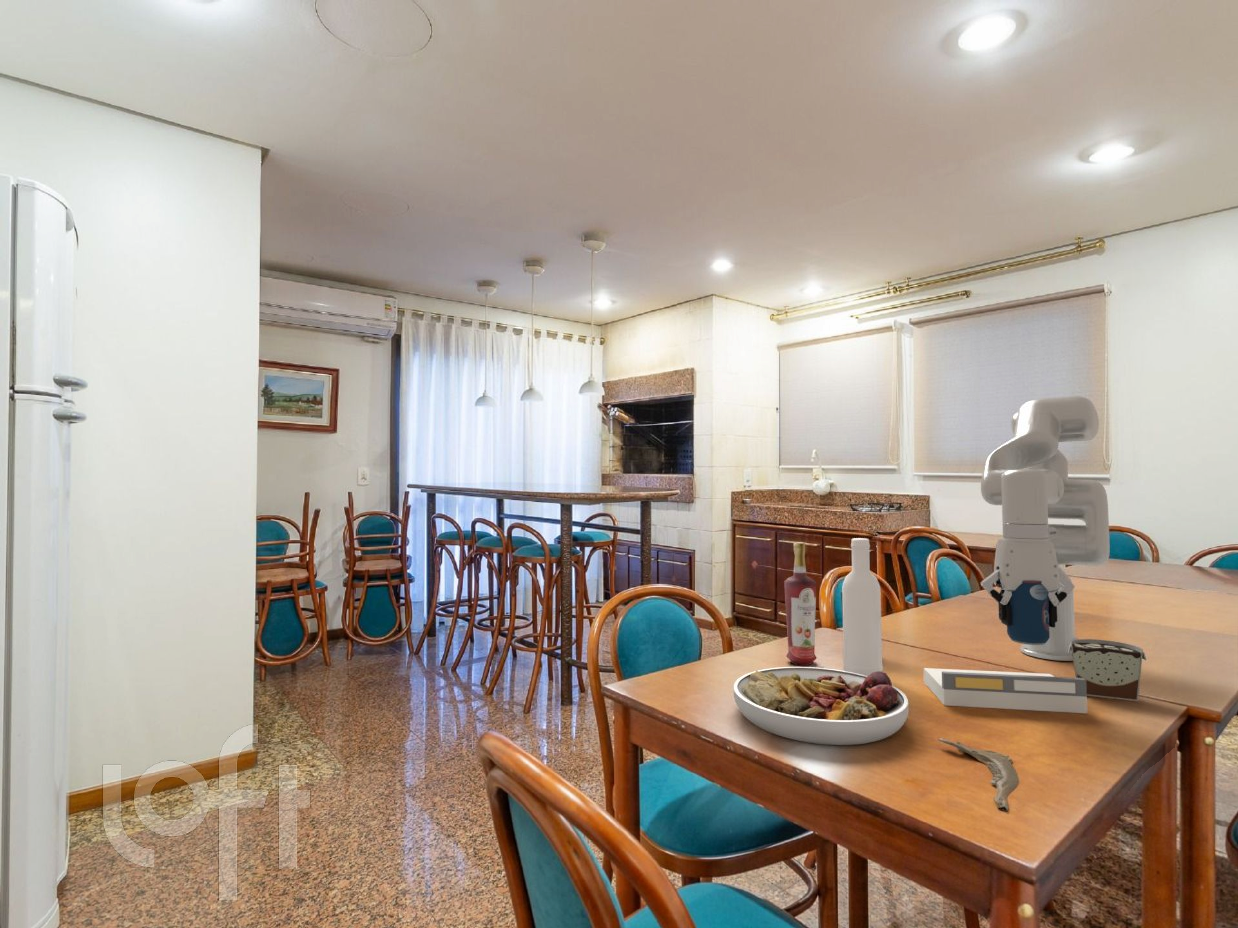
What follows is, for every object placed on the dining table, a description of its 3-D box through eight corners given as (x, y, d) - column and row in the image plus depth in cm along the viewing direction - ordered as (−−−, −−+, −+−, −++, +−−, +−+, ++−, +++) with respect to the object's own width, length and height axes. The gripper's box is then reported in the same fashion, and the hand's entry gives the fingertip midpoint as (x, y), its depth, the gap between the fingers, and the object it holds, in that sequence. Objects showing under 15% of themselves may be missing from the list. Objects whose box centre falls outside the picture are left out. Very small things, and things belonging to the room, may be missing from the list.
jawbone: (995, 754, 100) (996, 741, 100) (1075, 826, 80) (1076, 809, 80) (936, 747, 101) (937, 735, 101) (1000, 816, 81) (1001, 800, 81)
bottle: (853, 670, 142) (851, 536, 143) (888, 677, 136) (886, 538, 137) (836, 678, 136) (834, 538, 137) (872, 686, 131) (870, 541, 132)
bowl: (772, 760, 97) (771, 708, 97) (713, 695, 127) (712, 656, 127) (948, 746, 102) (947, 696, 102) (851, 687, 131) (851, 649, 132)
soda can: (1056, 646, 118) (1054, 582, 118) (1015, 644, 119) (1013, 581, 120) (1040, 638, 125) (1039, 577, 125) (1001, 636, 126) (1000, 576, 127)
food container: (1137, 692, 126) (1135, 641, 126) (1147, 702, 120) (1146, 649, 120) (1062, 684, 131) (1061, 636, 131) (1069, 693, 125) (1068, 642, 126)
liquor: (795, 667, 144) (793, 545, 145) (779, 659, 151) (777, 542, 152) (823, 665, 146) (821, 544, 147) (807, 657, 153) (805, 541, 154)
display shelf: (1050, 688, 128) (1049, 658, 128) (1088, 714, 114) (1087, 680, 114) (923, 682, 133) (923, 653, 133) (945, 706, 119) (944, 673, 119)
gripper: (1065, 531, 125) (1068, 622, 124) (969, 531, 128) (972, 619, 128) (1085, 534, 117) (1088, 631, 117) (983, 533, 121) (985, 627, 120)
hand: (1027, 624), depth 122 cm, fingers closed on soda can, 6 cm apart
